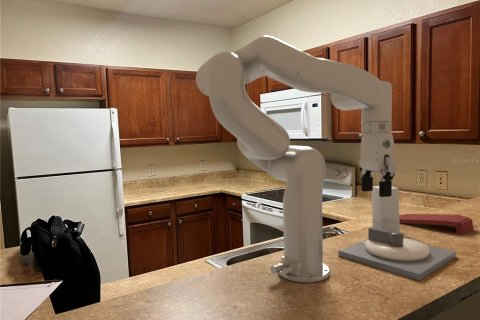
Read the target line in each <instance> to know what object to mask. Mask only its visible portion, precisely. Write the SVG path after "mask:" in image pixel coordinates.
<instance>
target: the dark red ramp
mask: <svg viewBox="0 0 480 320" xmlns="http://www.w3.org/2000/svg"><path fill="white" fill-rule="evenodd" d="M399 224H421V225H423V224H424V225H442V226H443V225H444V226H452V227H455V229H456V234H458V235H459V234H460V235H467V234H468V233H470V232H472V231H475V230H474V224H473V218H470V217H468V216H466V215H460V214H443V213H442V214H441V213H440V214H439V213H434V214H433V213H403V214H399Z"/></svg>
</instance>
